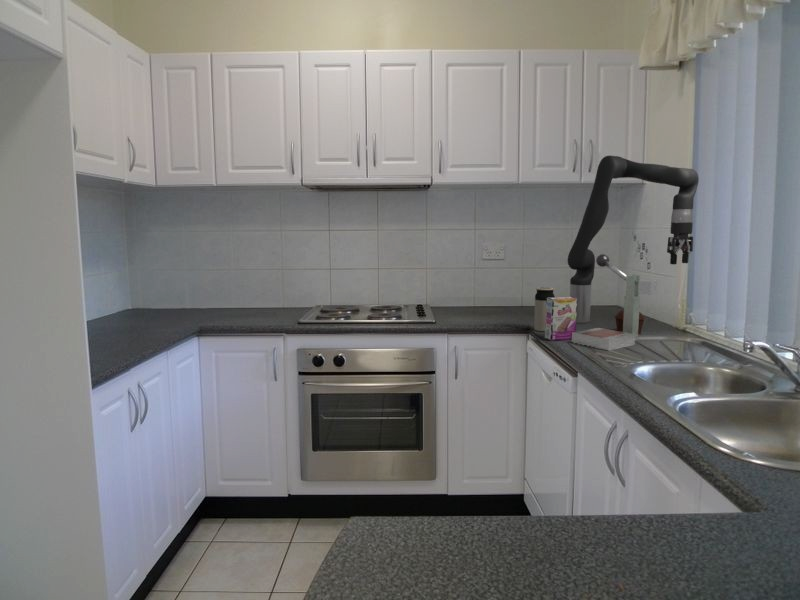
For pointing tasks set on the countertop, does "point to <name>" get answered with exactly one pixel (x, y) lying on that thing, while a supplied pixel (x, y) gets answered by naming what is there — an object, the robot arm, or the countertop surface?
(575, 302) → the candy bar box
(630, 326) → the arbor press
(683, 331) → the countertop surface
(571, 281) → the robot arm
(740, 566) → the countertop surface
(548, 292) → the travel mug
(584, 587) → the countertop surface
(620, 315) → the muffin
